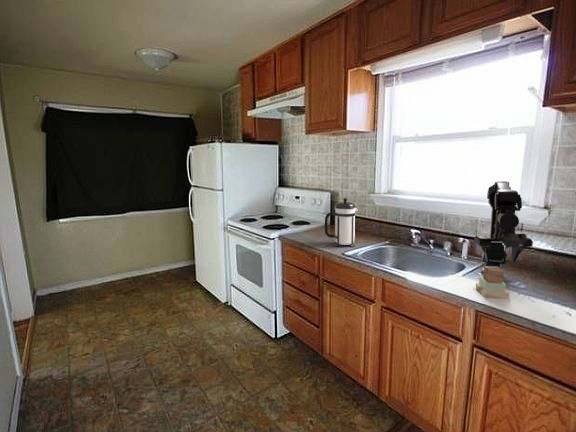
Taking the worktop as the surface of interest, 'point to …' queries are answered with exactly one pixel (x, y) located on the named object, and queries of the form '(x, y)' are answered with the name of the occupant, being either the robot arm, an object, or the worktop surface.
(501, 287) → the sage top block
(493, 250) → the robot arm
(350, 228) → the coffee press
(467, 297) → the worktop surface
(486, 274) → the walnut cube
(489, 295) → the birch base block
